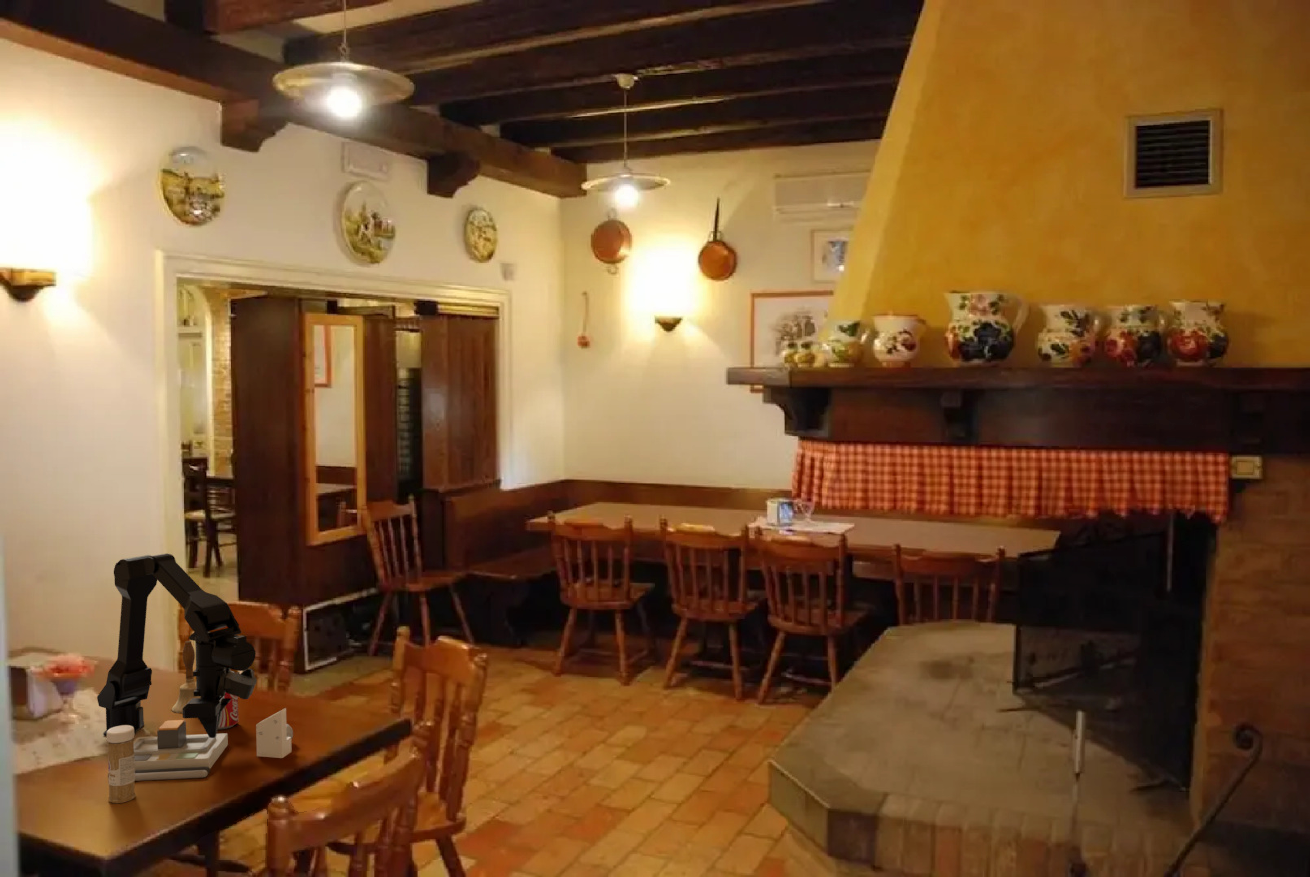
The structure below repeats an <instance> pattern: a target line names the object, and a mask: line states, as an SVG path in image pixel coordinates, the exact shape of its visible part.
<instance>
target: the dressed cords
mask: <svg viewBox="0 0 1310 877" xmlns="http://www.w3.org/2000/svg"><path fill="white" fill-rule="evenodd" d="M210 772H211V768H209V767H189V768H168V769H147V770H135V780H134V782H138V781H140V782H141V781H157V780H158V781H159V780H163V781H164V780H178V779H179V780H181V779H199V778H202V779H203V778H206V777H207V776H208V774H209V773H210ZM107 778H108V780H109V772H107Z"/></svg>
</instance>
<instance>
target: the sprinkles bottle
mask: <svg viewBox="0 0 1310 877" xmlns="http://www.w3.org/2000/svg"><path fill="white" fill-rule="evenodd" d="M106 741H107V748H108V749H107V753H108V754H107V756H108V758H107V762H108V763H107V764H108V766H107V767H108V772H107V773H109V779H108V793H109V796H108V801H109V802H110V803H112V804H122V803H126V802H129V801H131V800H133V799H135V798H136V791H135V790H136V789H135V787H136V786H135V781H134V780H135V762H134V741H135V733H134V727H133V726H129V725H121V726H116V727H113V728H110V729H109V730H108V731H107V735H106Z"/></svg>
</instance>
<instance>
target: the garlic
mask: <svg viewBox="0 0 1310 877" xmlns="http://www.w3.org/2000/svg"><path fill="white" fill-rule="evenodd" d="M286 730H287V737H291V740H293V736H294V730H293V728H292V727H291V726H290V724H288V723H286Z"/></svg>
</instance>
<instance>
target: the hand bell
mask: <svg viewBox="0 0 1310 877" xmlns="http://www.w3.org/2000/svg"><path fill="white" fill-rule="evenodd" d="M195 660H196V651H195V649H194V646H193V643H192V640H186V641H185V642H184V646H183V649H182V662H183V664H184V667H185V683H183V684H182V685H180V686H179V693H178V698H177V700H176V703H175V704H174V705H173V706H172V708H171V711H172V712H173V713H175V714H183V708H184V706H185V705H186V704H187V703H188V702H189V701H190V700H191V699H192V698H200V696H194V691H195V690H196V681H195V677H193V671H194V663H195Z"/></svg>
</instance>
